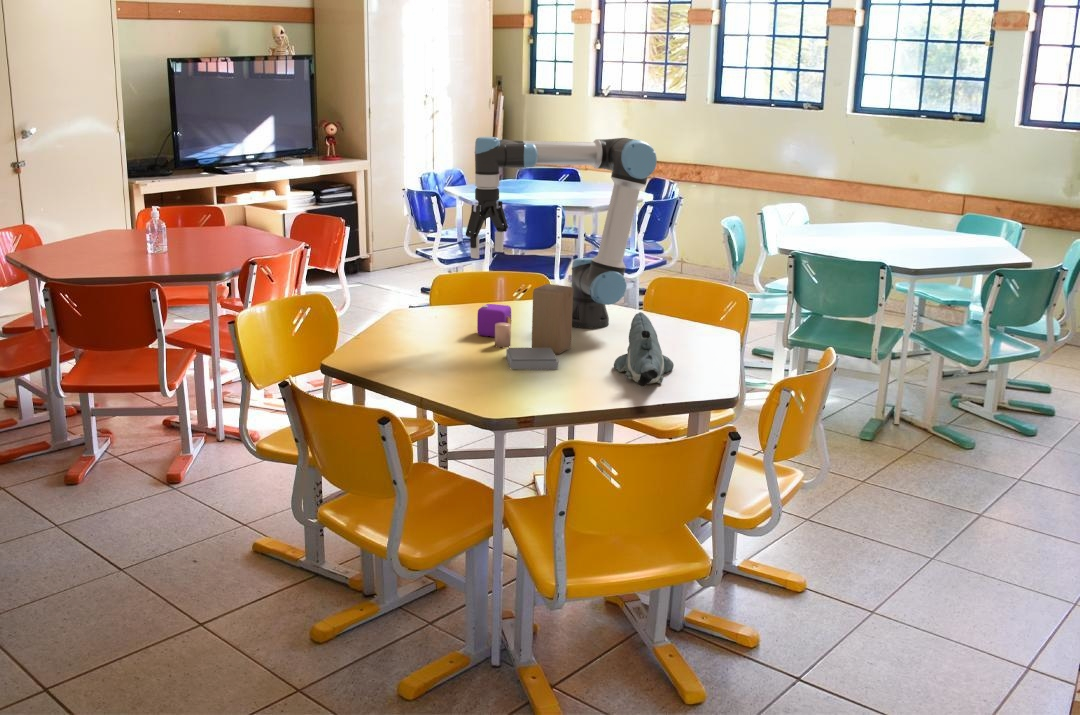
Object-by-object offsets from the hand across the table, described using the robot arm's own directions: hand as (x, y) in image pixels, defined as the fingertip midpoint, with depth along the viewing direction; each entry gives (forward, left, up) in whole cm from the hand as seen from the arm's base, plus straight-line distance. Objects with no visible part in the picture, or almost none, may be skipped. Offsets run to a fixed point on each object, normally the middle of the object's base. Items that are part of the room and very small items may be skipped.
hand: (487, 254), depth 334 cm
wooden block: (-20, +13, -28) cm, 37 cm away
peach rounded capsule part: (-5, +8, -28) cm, 29 cm away
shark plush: (-40, +47, -28) cm, 68 cm away
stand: (-12, +28, -28) cm, 41 cm away
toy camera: (-4, -8, -28) cm, 29 cm away
